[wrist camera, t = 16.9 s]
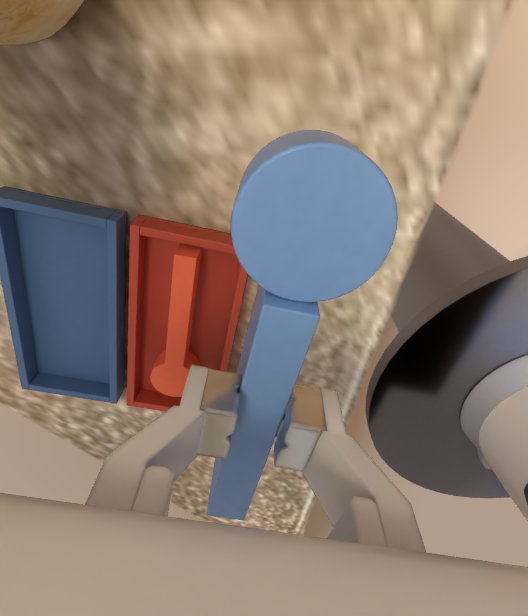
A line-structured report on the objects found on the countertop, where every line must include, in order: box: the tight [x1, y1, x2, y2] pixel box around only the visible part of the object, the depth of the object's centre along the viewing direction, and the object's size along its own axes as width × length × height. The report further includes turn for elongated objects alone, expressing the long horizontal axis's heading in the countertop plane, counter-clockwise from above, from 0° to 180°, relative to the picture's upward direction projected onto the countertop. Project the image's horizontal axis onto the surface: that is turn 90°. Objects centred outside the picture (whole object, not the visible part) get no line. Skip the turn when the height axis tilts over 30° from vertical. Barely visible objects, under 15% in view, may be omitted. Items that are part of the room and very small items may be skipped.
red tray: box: [127, 215, 248, 411], centre depth 28 cm, size 8×16×2 cm, turn 168°
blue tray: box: [0, 186, 127, 404], centre depth 27 cm, size 8×16×2 cm, turn 168°
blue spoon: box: [207, 130, 398, 520], centre depth 11 cm, size 13×4×2 cm, turn 167°
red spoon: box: [150, 243, 202, 397], centre depth 27 cm, size 13×4×2 cm, turn 168°
